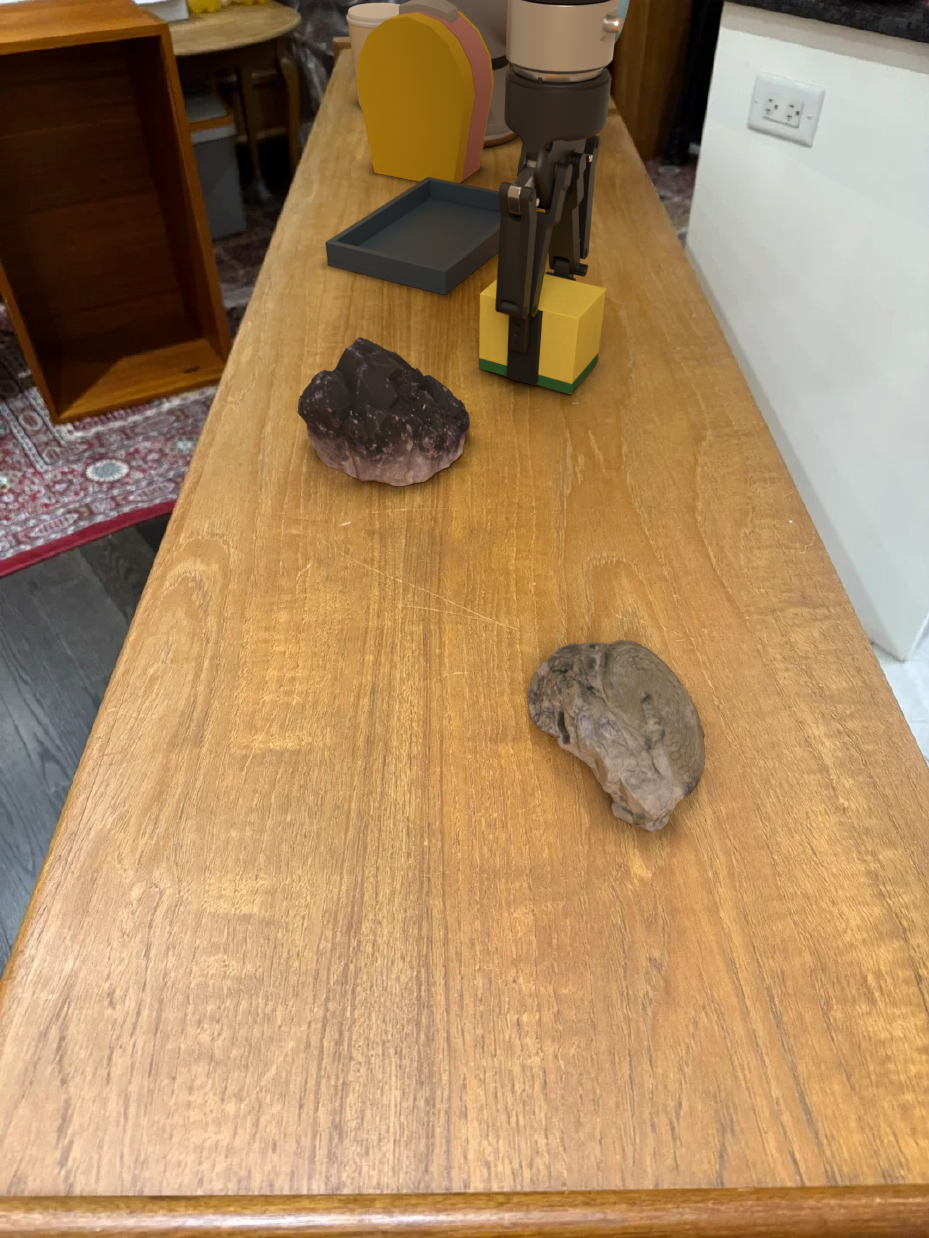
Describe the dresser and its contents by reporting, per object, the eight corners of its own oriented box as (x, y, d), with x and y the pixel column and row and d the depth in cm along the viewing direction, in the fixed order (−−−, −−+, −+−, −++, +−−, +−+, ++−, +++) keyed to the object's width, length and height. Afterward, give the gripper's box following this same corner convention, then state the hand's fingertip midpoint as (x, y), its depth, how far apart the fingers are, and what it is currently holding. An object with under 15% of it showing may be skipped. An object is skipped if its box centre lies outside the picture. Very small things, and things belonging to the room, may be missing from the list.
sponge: (508, 339, 82) (511, 265, 77) (597, 363, 79) (606, 288, 74) (478, 368, 78) (479, 293, 73) (570, 394, 76) (578, 318, 70)
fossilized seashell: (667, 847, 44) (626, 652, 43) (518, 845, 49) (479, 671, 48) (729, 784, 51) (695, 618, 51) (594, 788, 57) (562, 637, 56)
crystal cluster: (450, 397, 77) (437, 286, 71) (493, 475, 68) (483, 354, 61) (301, 430, 76) (273, 318, 69) (323, 515, 66) (293, 394, 59)
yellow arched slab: (493, 169, 114) (498, 0, 101) (464, 190, 109) (465, 15, 96) (395, 151, 119) (387, -13, 106) (363, 170, 114) (350, 1, 101)
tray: (428, 198, 108) (427, 176, 106) (535, 221, 103) (537, 199, 101) (327, 265, 94) (324, 242, 93) (445, 295, 90) (445, 271, 88)
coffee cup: (406, 115, 130) (402, 19, 121) (345, 111, 131) (337, 15, 123) (421, 96, 136) (418, 4, 128) (363, 93, 138) (356, 1, 129)
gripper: (551, 112, 55) (530, 426, 72) (655, 41, 66) (617, 326, 83) (446, 94, 57) (450, 402, 74) (565, 29, 69) (545, 308, 86)
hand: (538, 361), depth 79 cm, fingers closed on sponge, 6 cm apart
